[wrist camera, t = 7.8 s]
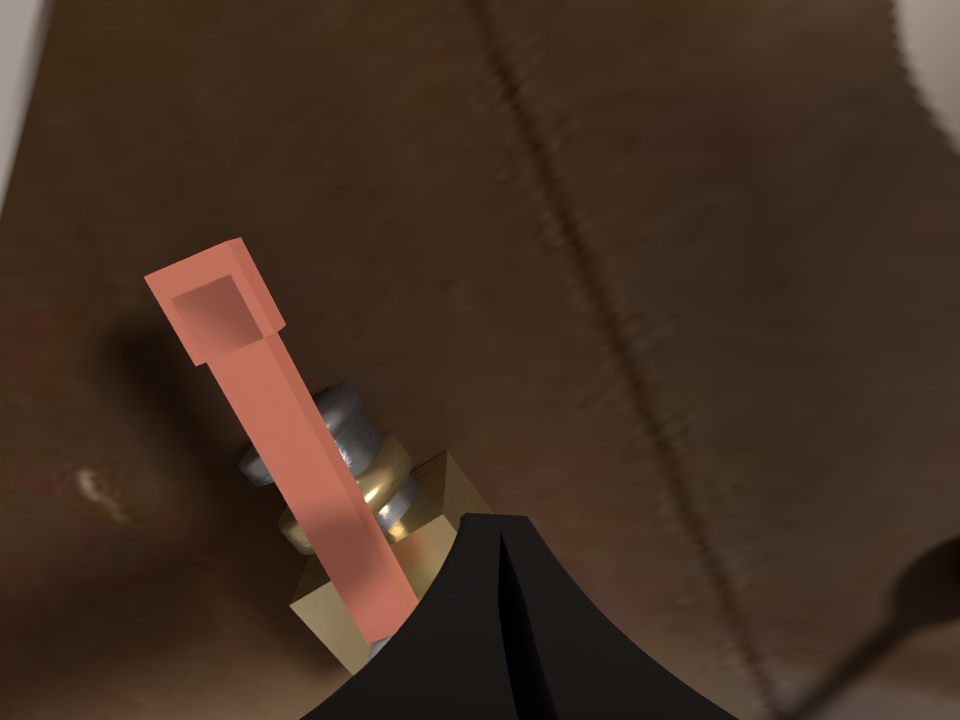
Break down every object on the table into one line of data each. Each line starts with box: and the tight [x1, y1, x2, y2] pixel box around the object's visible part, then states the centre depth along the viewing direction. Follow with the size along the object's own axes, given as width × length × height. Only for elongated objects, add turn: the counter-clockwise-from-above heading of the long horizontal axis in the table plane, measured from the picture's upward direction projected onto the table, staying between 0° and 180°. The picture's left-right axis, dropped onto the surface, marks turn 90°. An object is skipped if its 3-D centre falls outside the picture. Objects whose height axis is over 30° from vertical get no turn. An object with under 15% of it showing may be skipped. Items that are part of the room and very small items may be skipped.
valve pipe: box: [238, 382, 494, 676], centre depth 21 cm, size 15×6×5 cm, turn 33°
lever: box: [144, 238, 422, 662], centre depth 17 cm, size 15×3×2 cm, turn 22°
